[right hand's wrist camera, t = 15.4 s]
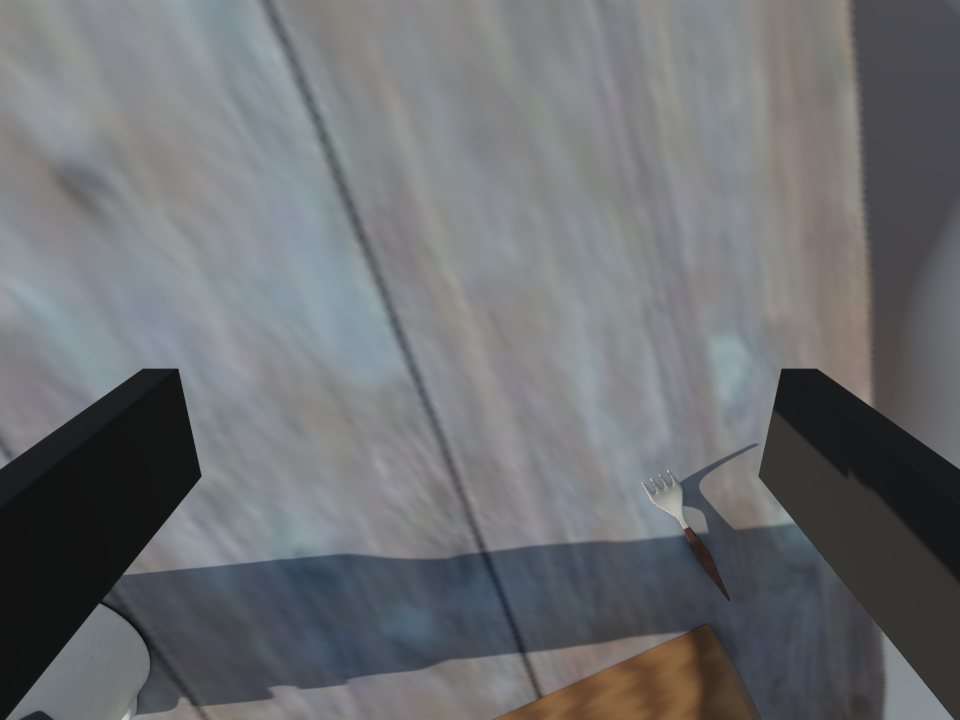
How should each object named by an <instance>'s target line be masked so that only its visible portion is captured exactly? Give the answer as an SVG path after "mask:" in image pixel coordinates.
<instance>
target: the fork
mask: <svg viewBox="0 0 960 720" xmlns="http://www.w3.org/2000/svg"><path fill="white" fill-rule="evenodd" d="M667 471H668V473H669V475H670V478H671V480H672V484H668V483H667V482H666V480H665V479H664V478H663V477H662V476H661V475H660V474H659V476H660V478H661V480H662V483H663V485H664V488H660V487H659V486H658V485H657V484H656V483H655V482H654V480H653V479H651V481H652V483H653V485H654V487H655V489H656V491H655V492H652V491H651V490H650V489H649V488H648V487H647V486H646V485H645V484H644V483H643V482H642V484H643V486H644V488H645V490H646V491H647V493H648V495H649V497H650V499H651V501H652V502H653V503H654V504H655V505H657V506H658V507H660V508H661V509H663V510H665V511H666V512H668V513H670V514H672V515H673V516H675V517H676V518H677V519H678V520H679V521H680V523H681V525H682V527H683V529H684V531H685V534H686V536H687V539H688V541H689V544H690V546H691V548H692V550H693V553H694V555H695V557H696V558H697V560H698V561H699V563H700V564H701V566H702V567H703V568H704V570H705V571H706V572H707V573H708V575H709V576H710V577H711V578H712V580H713V581H714V582H715V583H716V585H717V586H718V587H719V589H720V590H721V592H722V593H723V594H724V596H725V597H726V598H727V600H728V601H729V600H730V598H729V596H728V594H727V591H726V589H725V587H724V585H723V583H722V580H721V578H720V576H719V573H718V571H717V569H716V566H715V564H714V561H713V559H712V557H711V555H710V553H709V552H708V550H707V549H706V547H705V546H704V545H703V543H702V542H701V541H700V539H699V538H698V537H697V536H696V534H695V533H694V532H693V531H692V529H691V528H690V527H689V525H688V524H687V523H686V521H685V520H684V518H683V512H682V509H683V490H682V487H681V485H680V483H679V482H678V481H677V480H676V478H675V477H674V476H673V475H672V473H671V472H670V471H669V470H667Z"/></svg>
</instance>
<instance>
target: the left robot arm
mask: <svg viewBox="0 0 960 720" xmlns="http://www.w3.org/2000/svg"><path fill="white" fill-rule="evenodd" d="M149 672H150V657H149V653H148V650H147V647H146V645H145V643H144V641H143V639H142V638H141V636H140V635H139V634H138V632H137V631H136V630H135V629H134V628H133V627H132V626H131V625H130V624H129V623H128V622H127V621H126V620H125V619H124V618H123V617H121V616H120V615H119V614H117V613H116V612H114V611H113V610H111V609H109V608H108V607H106V606H104V605H102V604H100V603H99V604H98V606H97V607H96V608H95V609H94V611H93V612H92V613H91V614H90V616H89V617H88V618H87V619H86V621H85V622H84V623H83V624H82V626H81V627H80V628H79V629H78V631H77V632H76V633H75V634H74V636H73V637H72V638H71V639H70V640H69V642H68V643H67V644H66V645H65V647H64V648H63V649H62V650H61V652H60V653H59V654H58V655H57V657H56V658H55V659H54V660H53V662H52V663H51V664H50V665H49V667H48V668H47V669H46V670H45V672H44V673H43V674H42V675H41V677H40V678H39V679H38V680H37V681H36V683H35V684H34V685H33V686H32V688H31V689H30V690H29V691H28V693H27V694H26V695H25V696H24V698H23V699H22V700H21V701H20V703H19V704H18V705H17V706H16V708H15V709H14V710H13V711H12V713H11V714H10V715H9V716H8V717H7V719H6V720H132V718H133V717H134V715H135V714H136V712H137V695H138V693H139V691H140V690H141V688H142V687H143V685H144V684H145V682H146V681H147V678H148V676H149Z"/></svg>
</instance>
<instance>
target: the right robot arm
mask: <svg viewBox="0 0 960 720" xmlns="http://www.w3.org/2000/svg"><path fill="white" fill-rule="evenodd" d="M201 477H202V476H201V471H200V467H199V462H198V458H197V453H196V448H195V444H194V439H193V434H192V430H191V425H190V421H189V416H188V411H187V407H186V402H185V397H184V393H183V388H182V384H181V379H180V374H179V370H178V369H142V370H140V371H139V372H138V373H136V374H135V375H133V376H132V377H131V378H129V379H128V380H126V381H125V382H124V383H122V384H121V385H119V386H118V387H116V388H115V389H114V390H112V391H111V392H109V393H108V394H107V395H105V396H104V397H102V398H101V399H99V400H98V401H97V402H95V403H94V404H92V405H91V406H90V407H88V408H87V409H85V410H84V411H82V412H81V413H80V414H78V415H77V416H75V417H74V418H73V419H71V420H70V421H68V422H67V423H65V424H64V425H63V426H61V427H60V428H58V429H57V430H56V431H54V432H53V433H51V434H50V435H48V436H47V437H46V438H44V439H43V440H41V441H40V442H39V443H37V444H36V445H34V446H33V447H31V448H30V449H29V450H27V451H26V452H24V453H23V454H22V455H20V456H19V457H17V458H16V459H14V460H13V461H12V462H10V463H9V464H7V465H6V466H5V467H3V468H2V469H0V720H6V719H7V717H8V716H9V715H10V714H11V713H12V711H13V710H14V709H15V708H16V706H17V705H18V704H19V703H20V701H21V700H22V699H23V698H24V696H25V695H26V694H27V693H28V691H29V690H30V689H31V688H32V686H33V685H34V684H35V683H36V681H37V680H38V679H39V678H40V677H41V675H42V674H43V673H44V672H45V670H46V669H47V668H48V667H49V665H50V664H51V663H52V662H53V660H54V659H55V658H56V657H57V655H58V654H59V653H60V652H61V650H62V649H63V648H64V647H65V645H66V644H67V643H68V642H69V640H70V639H71V638H72V637H73V636H74V634H75V633H76V632H77V631H78V629H79V628H80V627H81V626H82V624H83V623H84V622H85V621H86V619H87V618H88V617H89V616H90V614H91V613H92V612H93V611H94V609H95V608H96V607H97V606H98V604H99V603H100V602H101V601H102V600H103V598H104V597H105V596H106V595H107V593H108V592H109V591H110V590H111V588H112V587H113V586H114V585H115V583H116V582H117V581H118V580H119V578H120V577H121V576H122V575H123V573H124V572H125V571H126V570H127V568H128V567H129V566H130V565H131V563H132V562H133V561H134V560H135V559H136V557H137V556H138V555H139V554H140V552H141V551H142V550H143V549H144V547H145V546H146V545H147V544H148V542H149V541H150V540H151V539H152V537H153V536H154V535H155V534H156V532H157V531H158V530H159V529H160V527H161V526H162V525H163V524H164V523H165V521H166V520H167V519H168V518H169V516H170V515H171V514H172V513H173V511H174V510H175V509H176V508H177V506H178V505H179V504H180V503H181V501H182V500H183V499H184V498H185V496H186V495H187V494H188V493H189V491H190V490H191V489H192V488H193V486H194V485H195V484H196V483H197V482H198V480H199V479H200V478H201ZM758 477H759V478H760V479H761V480H762V482H763V483H764V484H765V485H766V487H767V488H768V489H769V490H770V491H771V493H772V494H773V495H774V496H775V498H776V499H777V500H778V501H779V503H780V504H781V505H782V506H783V508H784V509H785V510H786V511H787V513H788V514H789V515H790V516H791V518H792V519H793V520H794V521H795V523H796V524H797V525H798V526H799V527H800V529H801V530H802V531H803V532H804V534H805V535H806V536H807V537H808V539H809V540H810V541H811V542H812V544H813V545H814V546H815V547H816V549H817V550H818V551H819V552H820V554H821V555H822V556H823V557H824V559H825V560H826V561H827V562H828V563H829V565H830V566H831V567H832V568H833V570H834V571H835V572H836V573H837V575H838V576H839V577H840V578H841V580H842V581H843V582H844V583H845V585H846V586H847V587H848V588H849V590H850V591H851V592H852V593H853V595H854V596H855V597H856V598H857V600H858V601H859V602H860V603H861V604H862V606H863V607H864V608H865V609H866V611H867V612H868V613H869V614H870V616H871V617H872V618H873V619H874V621H875V622H876V623H877V624H878V626H879V627H880V628H881V629H882V631H883V632H884V633H885V634H886V636H887V637H888V638H889V639H890V640H891V642H892V643H893V644H894V645H895V647H896V648H897V649H898V650H899V652H900V653H901V654H902V655H903V657H904V658H905V659H906V660H907V662H908V663H909V664H910V665H911V667H912V668H913V669H914V670H915V671H916V673H917V674H918V675H919V677H920V678H921V679H922V680H923V681H924V683H925V684H926V685H927V686H928V688H929V689H930V690H931V691H932V693H933V694H934V695H935V696H936V698H937V699H938V700H939V701H940V703H941V704H942V705H943V706H944V708H945V709H946V710H947V711H948V713H949V714H950V715H951V716H952V717H953V719H954V720H960V469H958V468H957V467H955V466H954V465H953V464H951V463H950V462H948V461H947V460H945V459H944V458H943V457H941V456H940V455H938V454H937V453H936V452H934V451H933V450H931V449H930V448H929V447H927V446H926V445H924V444H923V443H921V442H920V441H919V440H917V439H916V438H914V437H913V436H912V435H910V434H909V433H907V432H906V431H904V430H903V429H902V428H900V427H899V426H897V425H896V424H894V423H893V422H892V421H890V420H889V419H887V418H886V417H884V416H883V415H882V414H880V413H879V412H877V411H876V410H875V409H873V408H872V407H870V406H869V405H868V404H866V403H865V402H863V401H862V400H861V399H859V398H858V397H856V396H855V395H853V394H852V393H851V392H849V391H848V390H846V389H845V388H844V387H842V386H841V385H839V384H838V383H836V382H835V381H834V380H832V379H831V378H829V377H828V376H827V375H825V374H824V373H822V372H821V371H820V370H818V369H782V370H781V374H780V379H779V384H778V388H777V393H776V397H775V402H774V407H773V411H772V416H771V421H770V425H769V430H768V434H767V439H766V444H765V448H764V453H763V458H762V462H761V467H760V471H759V476H758Z"/></svg>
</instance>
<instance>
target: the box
mask: <svg viewBox="0 0 960 720" xmlns="http://www.w3.org/2000/svg"><path fill="white" fill-rule="evenodd" d="M494 720H762V719H761V717H760V715H759V713H758V711H757V709H756V707H755V704H754V702H753V700H752V698H751V696H750V694H749V692H748V690H747V688H746V686H745V684H744V681H743V679H742V677H741V675H740V673H739V671H738V669H737V667H736V665H735V663H734V662H733V660H732V659H731V657H730V656H729V654H728V653H727V651H726V650H725V648H724V647H723V645H722V644H721V642H720V641H719V639H718V638H717V636H716V635H715V633H714V632H713V630H712V629H711V627H710V626H709V624H706V625H704V626H702V627H699V628H697V629H695V630H693V631H691V632H688V633H686V634H684V635H682V636H679V637H677V638H675V639H673V640H670V641H668V642H666V643H664V644H661V645H659V646H657V647H655V648H653V649H650V650H648V651H646V652H644V653H641V654H639V655H637V656H635V657H632V658H630V659H628V660H626V661H623V662H621V663H619V664H617V665H615V666H612V667H610V668H608V669H606V670H603V671H601V672H599V673H597V674H594V675H592V676H590V677H588V678H586V679H583V680H581V681H579V682H577V683H574V684H572V685H570V686H568V687H565V688H563V689H561V690H559V691H556V692H554V693H552V694H550V695H548V696H545V697H543V698H541V699H539V700H536V701H534V702H532V703H530V704H527V705H525V706H523V707H521V708H518V709H516V710H514V711H512V712H510V713H507V714H505V715H503V716H501V717H498V718H496V719H494Z"/></svg>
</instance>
